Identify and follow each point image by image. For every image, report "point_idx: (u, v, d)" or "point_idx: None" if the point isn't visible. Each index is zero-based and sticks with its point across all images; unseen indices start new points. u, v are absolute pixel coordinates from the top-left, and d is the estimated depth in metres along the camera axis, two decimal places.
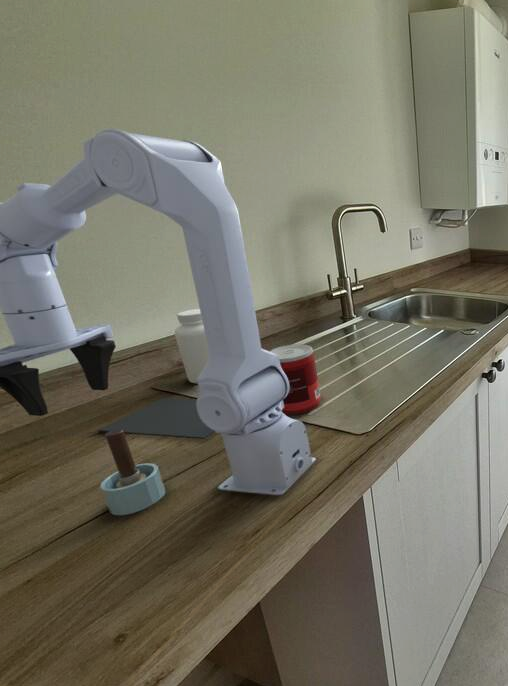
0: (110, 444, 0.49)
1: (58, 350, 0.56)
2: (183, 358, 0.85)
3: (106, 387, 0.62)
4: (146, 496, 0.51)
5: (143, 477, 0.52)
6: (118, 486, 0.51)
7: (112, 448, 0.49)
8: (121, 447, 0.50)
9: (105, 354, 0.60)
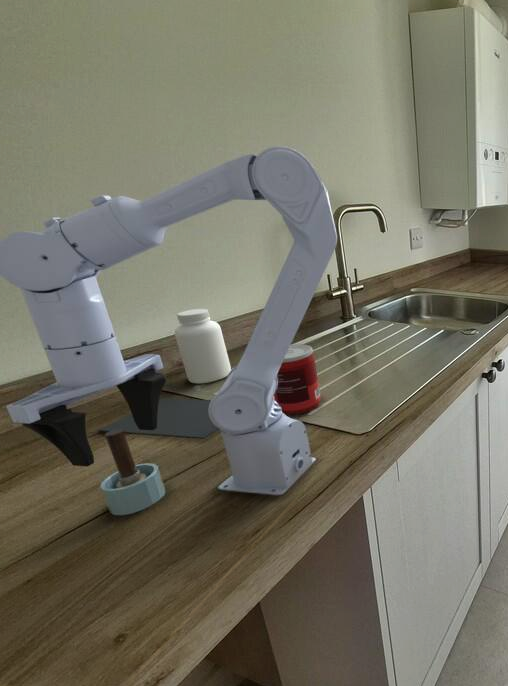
0: (110, 444, 0.49)
1: None
2: (183, 358, 0.85)
3: (155, 426, 0.54)
4: (146, 496, 0.51)
5: (143, 477, 0.52)
6: (118, 486, 0.51)
7: (112, 448, 0.49)
8: (121, 447, 0.50)
9: (155, 389, 0.52)
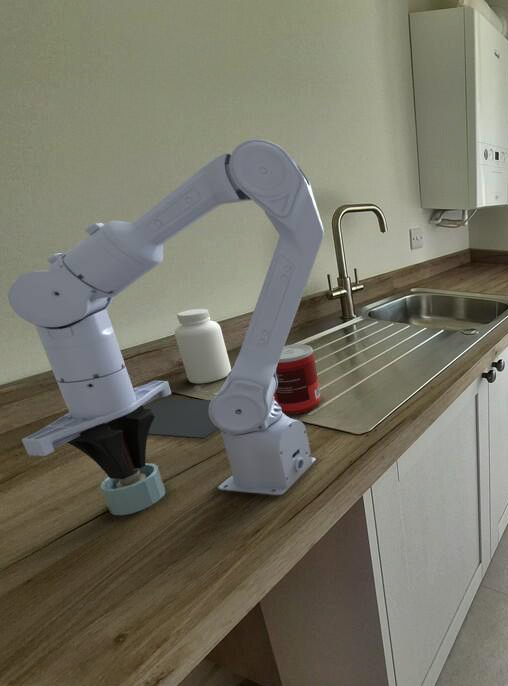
0: None
1: None
2: (183, 358, 0.85)
3: (143, 464, 0.52)
4: (146, 496, 0.51)
5: (143, 477, 0.52)
6: (118, 486, 0.51)
7: None
8: None
9: (143, 427, 0.51)
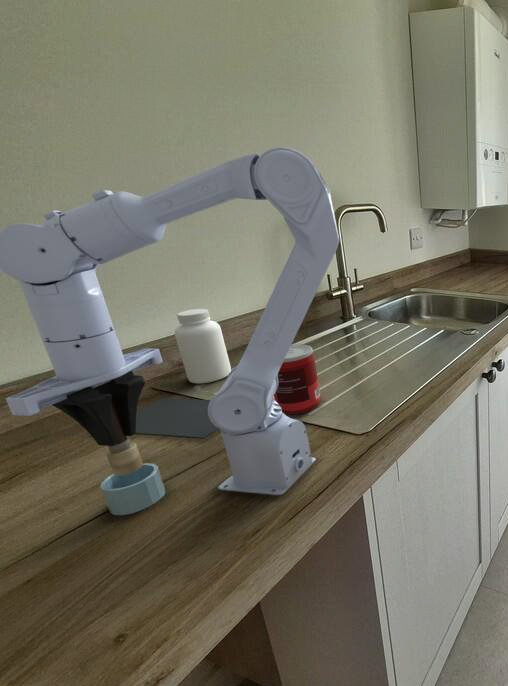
0: None
1: (104, 381, 0.48)
2: (183, 358, 0.85)
3: (134, 432, 0.51)
4: (146, 496, 0.51)
5: (133, 445, 0.51)
6: (107, 454, 0.50)
7: None
8: None
9: (133, 393, 0.50)
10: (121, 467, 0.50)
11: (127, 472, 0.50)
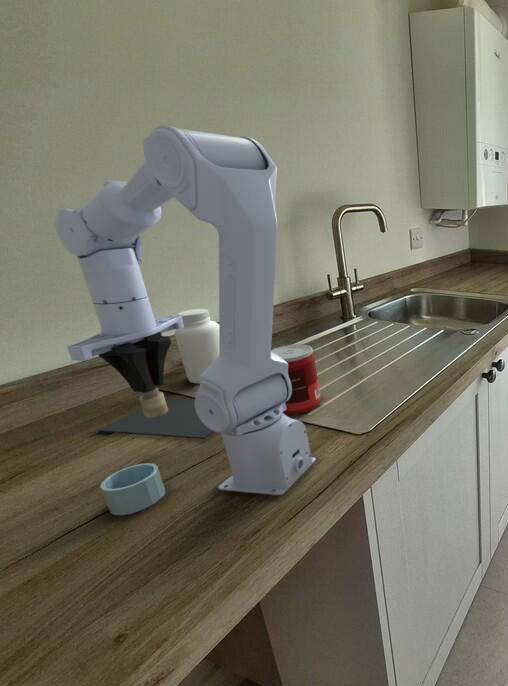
0: None
1: (139, 339, 0.59)
2: (183, 358, 0.85)
3: (161, 383, 0.62)
4: (146, 496, 0.51)
5: (161, 394, 0.62)
6: (140, 399, 0.61)
7: None
8: None
9: (162, 349, 0.61)
10: (151, 410, 0.61)
11: (156, 415, 0.61)
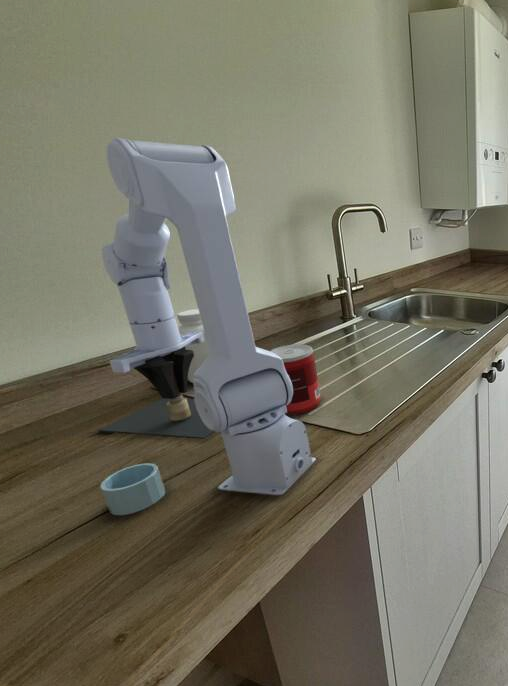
0: None
1: (167, 353, 0.69)
2: None
3: (185, 390, 0.71)
4: (146, 496, 0.51)
5: (185, 399, 0.72)
6: (168, 404, 0.70)
7: None
8: None
9: (186, 361, 0.70)
10: (177, 414, 0.70)
11: (181, 418, 0.71)
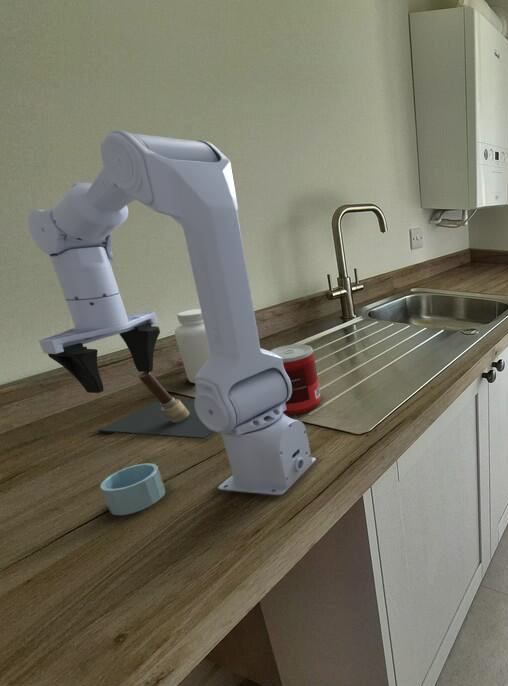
0: (145, 383, 0.66)
1: (111, 334, 0.62)
2: (183, 358, 0.85)
3: (151, 369, 0.67)
4: (146, 496, 0.51)
5: (178, 401, 0.71)
6: (162, 410, 0.69)
7: (147, 385, 0.67)
8: (153, 384, 0.67)
9: (151, 338, 0.66)
10: (175, 417, 0.70)
11: (180, 420, 0.71)
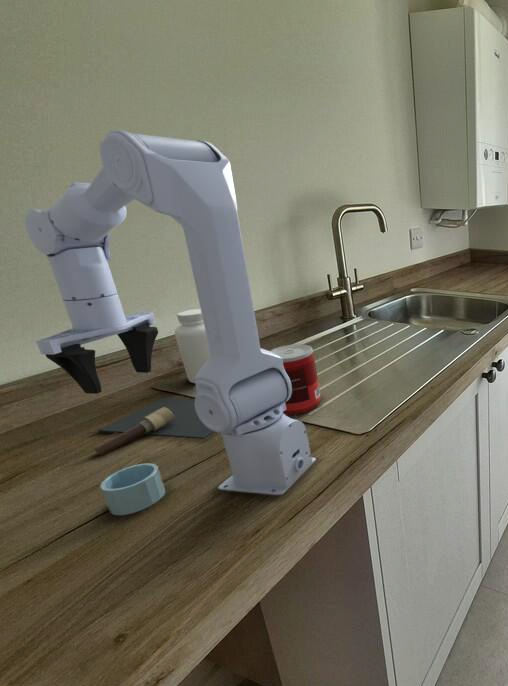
0: None
1: (109, 334, 0.62)
2: (183, 358, 0.85)
3: (149, 370, 0.67)
4: (146, 496, 0.51)
5: (149, 420, 0.67)
6: (153, 430, 0.68)
7: (115, 448, 0.64)
8: (116, 445, 0.63)
9: (149, 339, 0.66)
10: (167, 423, 0.69)
11: (173, 418, 0.70)
